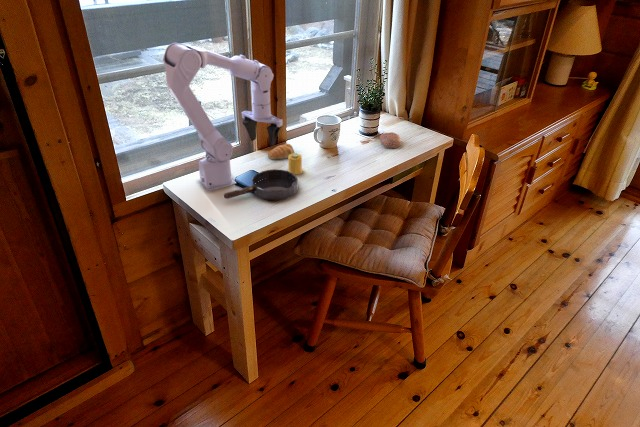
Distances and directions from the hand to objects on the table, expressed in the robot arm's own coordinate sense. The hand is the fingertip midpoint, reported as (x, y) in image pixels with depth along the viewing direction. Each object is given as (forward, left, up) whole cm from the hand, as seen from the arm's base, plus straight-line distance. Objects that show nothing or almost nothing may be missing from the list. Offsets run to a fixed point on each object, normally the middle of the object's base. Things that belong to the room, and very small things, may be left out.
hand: (262, 142), depth 155 cm
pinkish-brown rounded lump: (+50, -6, -10) cm, 51 cm away
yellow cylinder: (+8, -8, -9) cm, 14 cm away
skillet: (-3, -15, -9) cm, 18 cm away
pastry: (+10, +5, -10) cm, 14 cm away
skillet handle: (-15, -15, -8) cm, 23 cm away
